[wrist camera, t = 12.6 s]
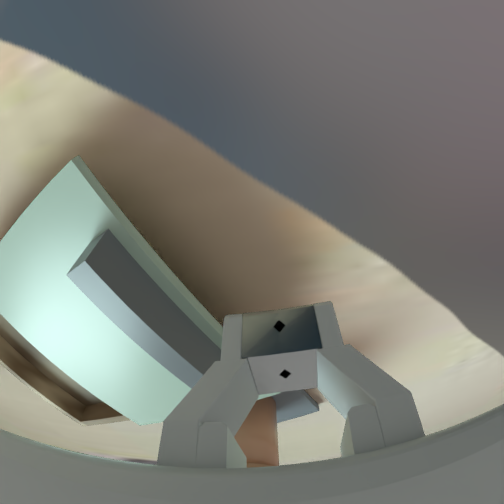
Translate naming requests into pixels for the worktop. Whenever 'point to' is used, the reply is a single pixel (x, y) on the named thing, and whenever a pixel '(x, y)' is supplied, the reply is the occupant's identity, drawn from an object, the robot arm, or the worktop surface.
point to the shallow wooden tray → (51, 380)
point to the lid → (104, 300)
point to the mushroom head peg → (260, 434)
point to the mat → (294, 404)
